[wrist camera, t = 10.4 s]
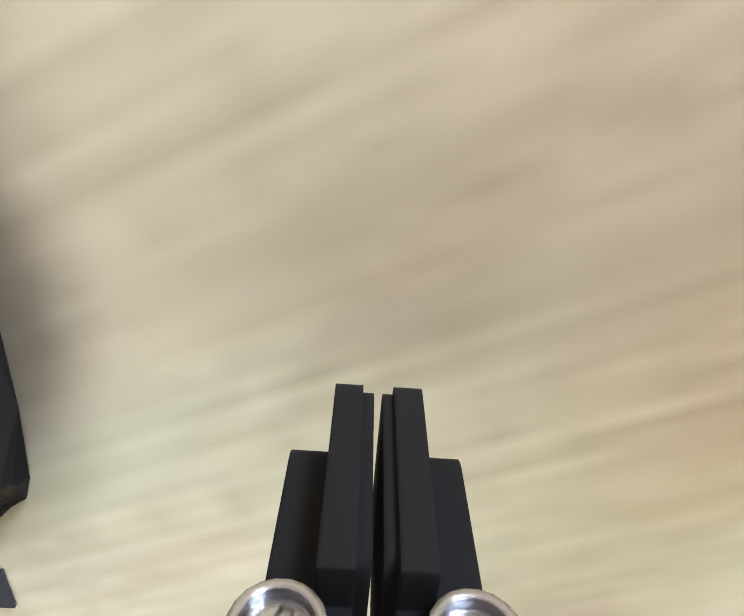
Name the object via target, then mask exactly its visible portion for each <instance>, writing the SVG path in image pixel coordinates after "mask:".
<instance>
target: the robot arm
mask: <svg viewBox="0 0 744 616" xmlns="http://www.w3.org/2000/svg"><path fill="white" fill-rule="evenodd" d="M373 431H374V393H363V385H349V384H336V388H335V397H334V406H333V415H332V424H331V433H330V443H329V452H322V451H305V450H291V452H290V456H289V460H288V465H287V471H286V476H285V481H284V486H283V491H282V497H281V502H280V507H279V512H278V517H277V523H276V528H275V533H274V538H273V544H272V549H271V554H270V559H269V564H268V570H267V575H266V580H265V581H262V582H260V583H258V584H256V585H254V586H252V587H250V588H249V589H247V590H246V591H245V592H244V593H243V594H242V595H240V596H239V597H238V598H237V599H236V600H235V602H234V603H233V605H232V607H231V608H230V610H229V612H228V614H227V616H367V607H368V598H369V589H370V579H371V600H370V616H518V615H517V614H516V613H515V612H514V611H513V610H512V609H511V608H510V606H509V605H508V604H507V603H505V602H504V601H502V600H501V599H499V598H498V597H496V596H495V595H493V594H490V593H488V592H485V591H482V586H481V580H480V574H479V568H478V562H477V556H476V550H475V545H474V539H473V533H472V527H471V521H470V515H469V510H468V504H467V498H466V492H465V486H464V480H463V474H462V469H461V465H460V462H459V460H457V459H440V458H429V451H428V441H427V432H426V423H425V413H424V404H423V394H422V390H421V389H413V388H397V387H394V388H393V394H392V395H390V394H383V395H382V402H381V412H380V422H379V433H378V443H377V453H376V463H375V473H374V484H373Z"/></svg>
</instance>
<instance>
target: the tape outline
mask: <svg viewBox="0 0 744 616" xmlns="http://www.w3.org/2000/svg"><path fill="white" fill-rule="evenodd" d="M15 607H16V604H15V601H14V598H13V596H12V593H11V590H10V588H9V585H8V582H7V580H6V577H5V574H4V572H3V570H0V608H15Z"/></svg>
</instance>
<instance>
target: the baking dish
mask: <svg viewBox="0 0 744 616" xmlns="http://www.w3.org/2000/svg"><path fill="white" fill-rule="evenodd" d="M29 479H30V477H29V471H28V464H27V458H26V452H25V446H24V439H23V433H22V427H21V421H20V414H19V408H18V404H17V400H16V396H15V391H14V387H13V383H12V379H11V375H10V371H9V367H8V363H7V358H6V354H5V350H4V346H3V342H2V338H1V334H0V517H1V516H2V515H3V514H4V513H5V512H6V511H7V510H8V509H9V508H10V507H12V506H14V505H15V504H17V503H19V502H21V501H22V500H24V499H26V497H27V491H28V485H29Z"/></svg>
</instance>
